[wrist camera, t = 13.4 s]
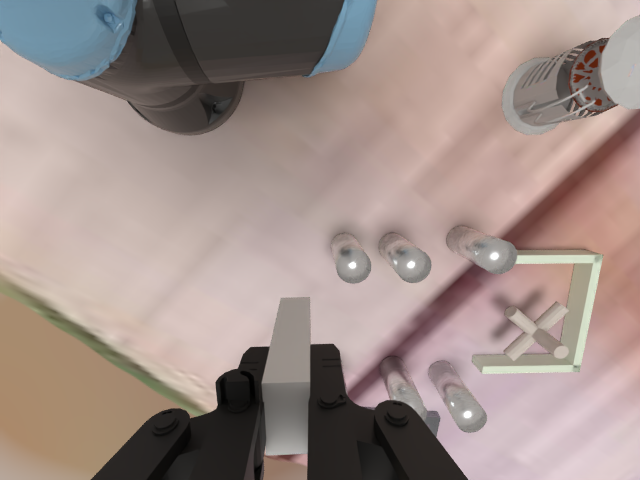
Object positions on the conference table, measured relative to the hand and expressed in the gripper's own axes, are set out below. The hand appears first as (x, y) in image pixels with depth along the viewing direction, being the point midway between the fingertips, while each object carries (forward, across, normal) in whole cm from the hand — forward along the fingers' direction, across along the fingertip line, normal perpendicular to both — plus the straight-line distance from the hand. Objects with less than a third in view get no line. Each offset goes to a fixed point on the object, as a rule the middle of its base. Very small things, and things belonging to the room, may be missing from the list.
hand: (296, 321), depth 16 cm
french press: (+30, +31, +16) cm, 46 cm away
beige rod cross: (+29, +32, -15) cm, 46 cm away
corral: (+29, +34, -14) cm, 47 cm away
